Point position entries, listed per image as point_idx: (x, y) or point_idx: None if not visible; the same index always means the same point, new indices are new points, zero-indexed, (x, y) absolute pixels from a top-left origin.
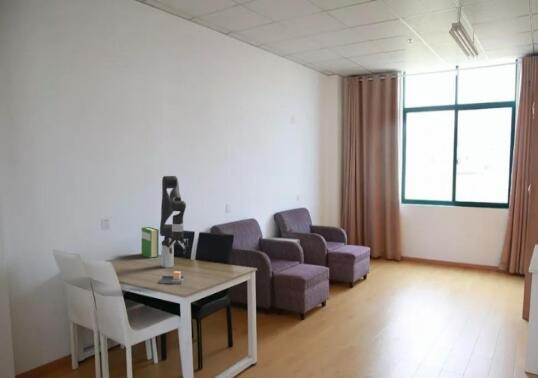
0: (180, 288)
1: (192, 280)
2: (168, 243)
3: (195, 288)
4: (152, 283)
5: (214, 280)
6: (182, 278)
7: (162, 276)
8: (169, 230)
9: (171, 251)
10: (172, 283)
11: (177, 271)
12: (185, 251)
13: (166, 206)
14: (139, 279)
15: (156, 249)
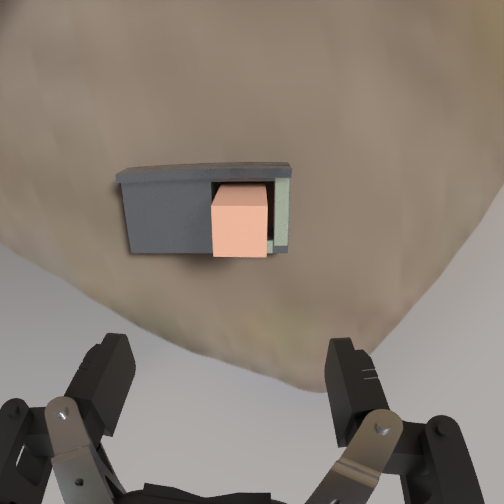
0: (293, 323)
1: (348, 159)
2: (40, 499)
3: (374, 315)
4: (100, 248)
5: (476, 162)
6: (282, 196)
7: (118, 182)
8: None
9: (124, 390)
10: None
11: (237, 214)
12: (373, 366)
13: None
14: (11, 182)
15: None
